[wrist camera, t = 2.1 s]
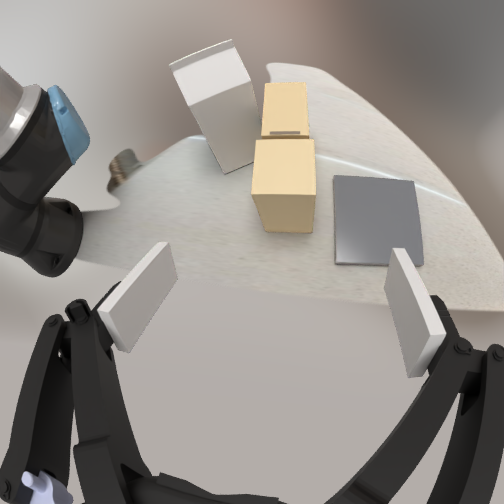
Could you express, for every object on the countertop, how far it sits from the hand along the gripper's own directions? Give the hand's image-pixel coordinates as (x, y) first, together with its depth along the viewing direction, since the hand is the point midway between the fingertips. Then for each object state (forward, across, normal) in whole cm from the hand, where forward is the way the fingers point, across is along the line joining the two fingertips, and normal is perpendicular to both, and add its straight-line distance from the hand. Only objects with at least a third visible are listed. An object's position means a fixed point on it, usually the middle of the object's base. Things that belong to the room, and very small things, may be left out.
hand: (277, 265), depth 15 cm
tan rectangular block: (+21, -1, -5) cm, 22 cm away
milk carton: (+28, -9, +2) cm, 30 cm away
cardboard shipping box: (+27, -1, +1) cm, 27 cm away
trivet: (+20, +11, -6) cm, 24 cm away
